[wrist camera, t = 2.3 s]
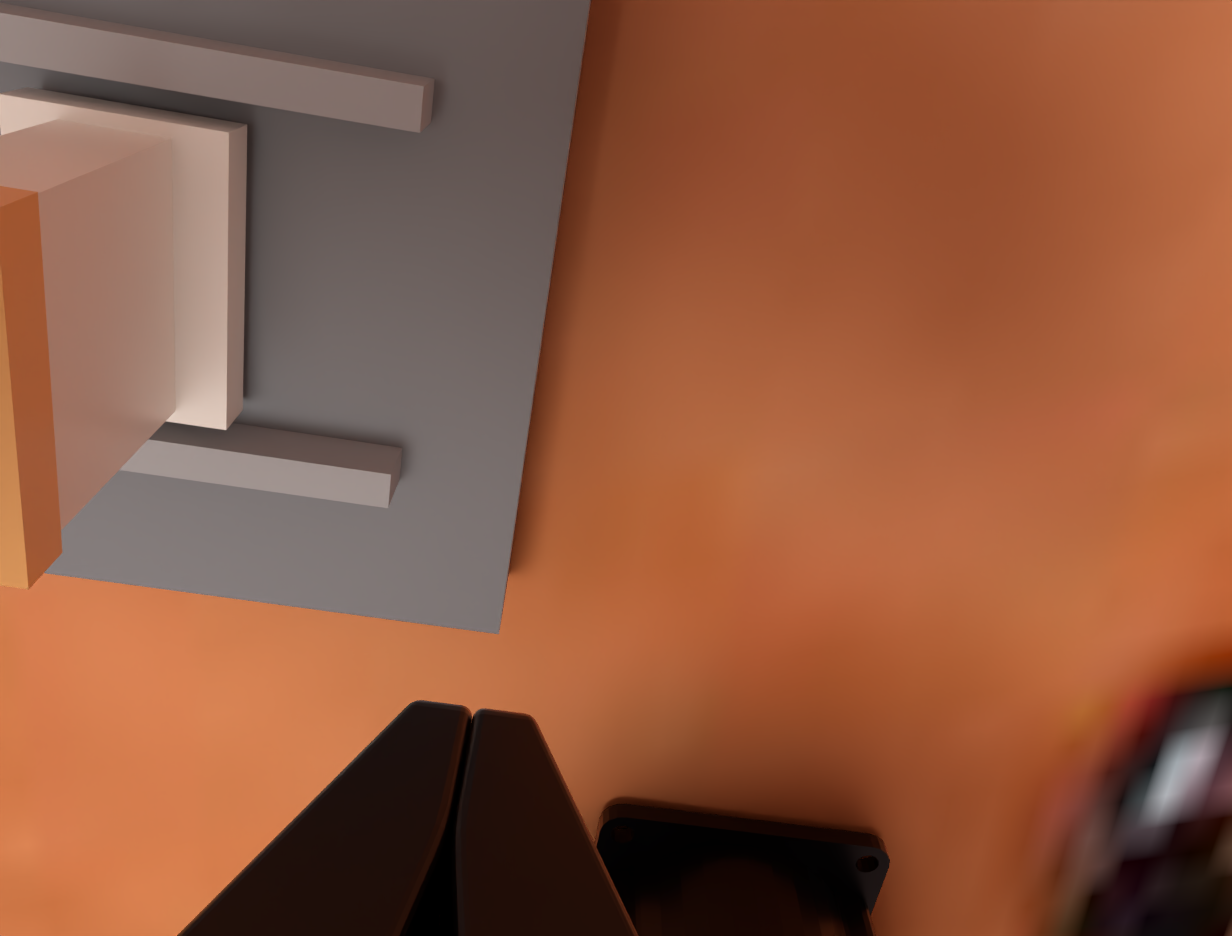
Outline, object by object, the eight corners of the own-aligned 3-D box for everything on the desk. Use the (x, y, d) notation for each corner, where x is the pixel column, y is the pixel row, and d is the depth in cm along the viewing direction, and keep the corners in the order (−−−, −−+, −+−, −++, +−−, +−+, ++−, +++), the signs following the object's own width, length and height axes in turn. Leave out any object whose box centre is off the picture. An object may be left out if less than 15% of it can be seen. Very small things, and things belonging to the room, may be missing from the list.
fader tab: (247, 124, 15) (62, 208, 10) (242, 409, 17) (84, 604, 12) (27, 86, 15) (-279, 154, 10) (48, 381, 16) (-200, 566, 11)
